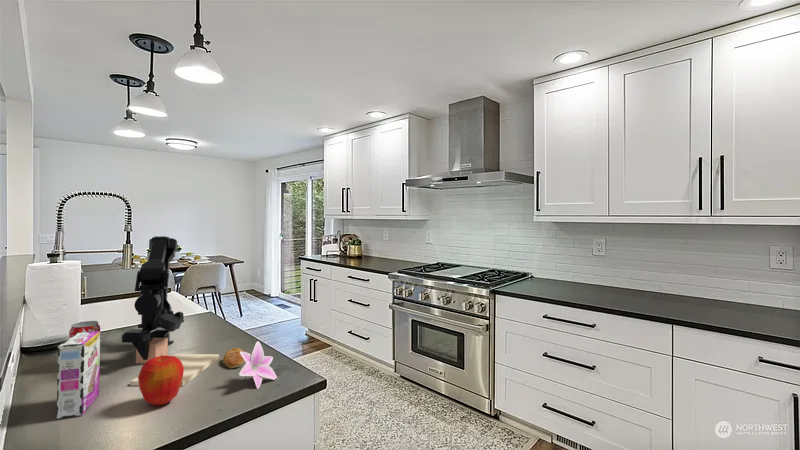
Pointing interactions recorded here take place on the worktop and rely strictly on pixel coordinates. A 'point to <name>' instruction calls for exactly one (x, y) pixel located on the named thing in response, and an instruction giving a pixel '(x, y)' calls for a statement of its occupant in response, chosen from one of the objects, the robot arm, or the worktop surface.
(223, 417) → the worktop surface
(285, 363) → the worktop surface
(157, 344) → the terracotta cube
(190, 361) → the birch board
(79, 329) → the soda can
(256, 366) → the lily
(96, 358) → the candy bar box
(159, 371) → the apple
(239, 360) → the pastry
